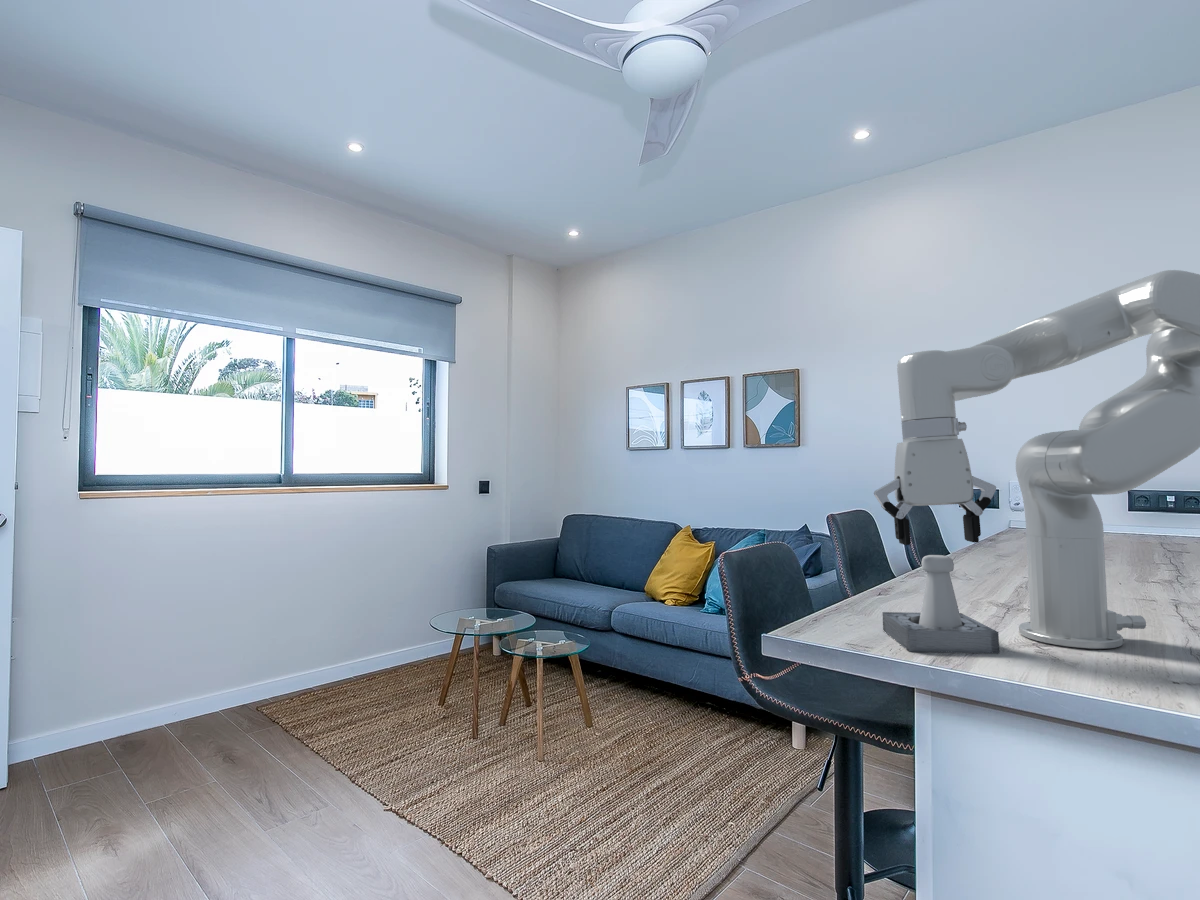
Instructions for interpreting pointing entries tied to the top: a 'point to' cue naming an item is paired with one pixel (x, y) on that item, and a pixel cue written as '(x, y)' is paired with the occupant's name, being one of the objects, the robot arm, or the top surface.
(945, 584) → the salt shaker
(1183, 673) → the top surface
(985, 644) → the block
